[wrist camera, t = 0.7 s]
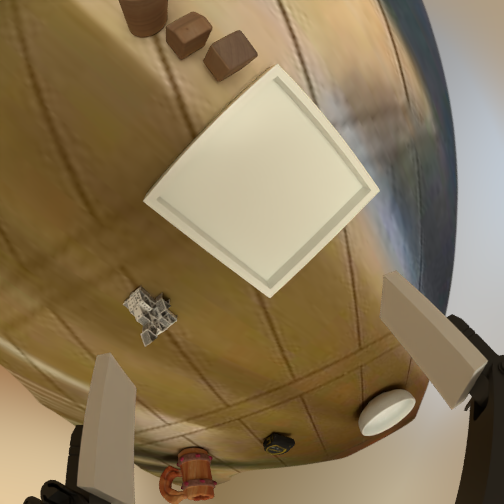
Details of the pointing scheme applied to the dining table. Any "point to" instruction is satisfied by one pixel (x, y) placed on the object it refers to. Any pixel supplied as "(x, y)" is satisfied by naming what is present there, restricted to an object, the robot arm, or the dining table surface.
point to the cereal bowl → (385, 411)
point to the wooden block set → (189, 36)
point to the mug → (189, 477)
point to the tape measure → (278, 444)
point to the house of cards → (150, 313)
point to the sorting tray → (264, 183)
